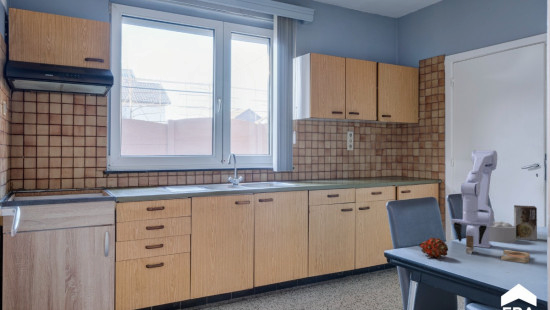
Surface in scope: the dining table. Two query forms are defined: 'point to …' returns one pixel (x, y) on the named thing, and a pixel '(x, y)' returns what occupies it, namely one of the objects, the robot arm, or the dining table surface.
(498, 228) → the lumpy-topped squat cylinder
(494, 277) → the dining table surface
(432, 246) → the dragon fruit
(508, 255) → the tile
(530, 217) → the coffee box
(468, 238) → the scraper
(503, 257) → the tile holder
